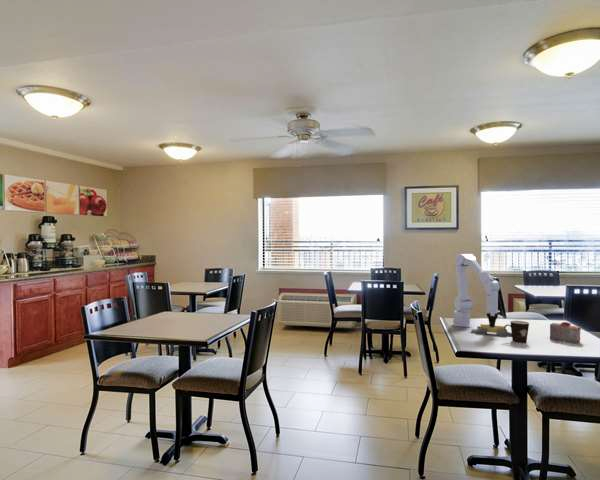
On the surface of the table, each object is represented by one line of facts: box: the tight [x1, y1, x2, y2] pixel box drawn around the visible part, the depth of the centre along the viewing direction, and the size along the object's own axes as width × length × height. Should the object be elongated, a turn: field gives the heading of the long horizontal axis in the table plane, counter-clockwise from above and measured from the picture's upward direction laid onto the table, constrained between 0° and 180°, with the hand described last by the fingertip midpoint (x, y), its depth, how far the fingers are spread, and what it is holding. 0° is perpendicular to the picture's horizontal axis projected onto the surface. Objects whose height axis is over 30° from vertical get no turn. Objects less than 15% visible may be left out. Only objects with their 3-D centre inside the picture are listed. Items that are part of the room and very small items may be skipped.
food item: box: [549, 321, 582, 344], centre depth 211 cm, size 14×8×10 cm, turn 42°
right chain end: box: [496, 328, 512, 337], centre depth 222 cm, size 8×6×3 cm
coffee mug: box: [503, 320, 530, 344], centre depth 210 cm, size 12×9×10 cm
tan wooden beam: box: [480, 323, 505, 334], centre depth 225 cm, size 12×2×4 cm, turn 67°
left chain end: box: [471, 326, 488, 336], centre depth 227 cm, size 8×6×3 cm
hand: (491, 326), depth 225 cm, fingers closed on tan wooden beam, 2 cm apart
